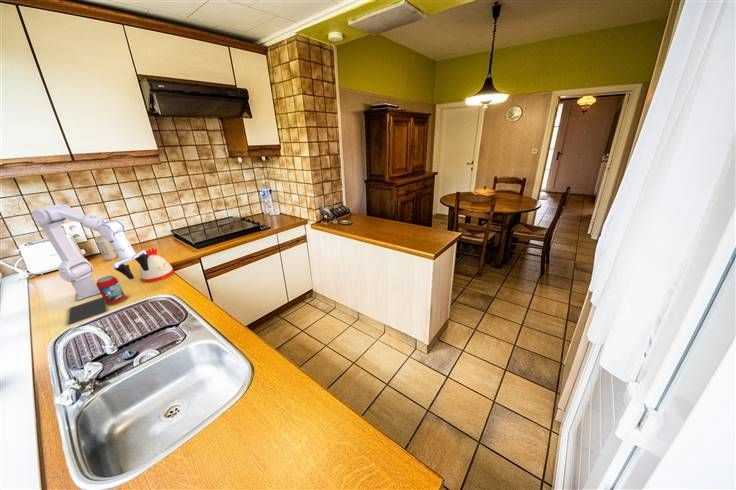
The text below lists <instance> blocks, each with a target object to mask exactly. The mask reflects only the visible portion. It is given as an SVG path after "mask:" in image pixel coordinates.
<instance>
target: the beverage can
mask: <svg viewBox="0 0 736 490" xmlns="http://www.w3.org/2000/svg"><path fill="white" fill-rule="evenodd" d="M96 285H97V287H98V289H99V291H100V293H99V294H100V295H101V298H102V297H103V298H104V301H105V305H106V304H107V305H116V304H118V303H121V302H122V301H124V299H125V298H126V295H125V293H124V291H123V289H122V287H121V284H120V283H119V281H118V278H117V277H115V276H113V275H105V276H102V277H100V278H98V279H97V280H96Z"/></svg>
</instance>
